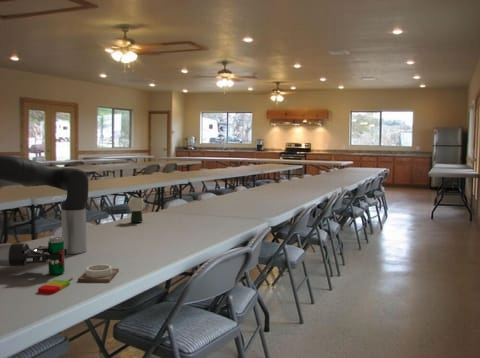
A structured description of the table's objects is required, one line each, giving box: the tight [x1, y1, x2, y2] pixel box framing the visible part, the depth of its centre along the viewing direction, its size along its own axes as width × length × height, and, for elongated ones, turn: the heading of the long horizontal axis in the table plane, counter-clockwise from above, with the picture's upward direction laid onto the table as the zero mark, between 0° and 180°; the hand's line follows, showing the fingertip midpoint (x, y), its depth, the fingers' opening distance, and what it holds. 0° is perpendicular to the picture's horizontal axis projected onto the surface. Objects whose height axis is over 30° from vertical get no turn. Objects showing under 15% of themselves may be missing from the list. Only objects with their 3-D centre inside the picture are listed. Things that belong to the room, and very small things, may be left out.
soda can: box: [47, 236, 66, 276], centre depth 157 cm, size 5×5×12 cm
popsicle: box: [37, 276, 74, 295], centre depth 144 cm, size 6×15×2 cm, turn 169°
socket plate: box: [77, 263, 119, 283], centre depth 154 cm, size 12×10×3 cm
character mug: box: [127, 197, 146, 223], centre depth 250 cm, size 11×7×13 cm, turn 66°
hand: (64, 254), depth 157 cm, fingers closed on soda can, 5 cm apart
